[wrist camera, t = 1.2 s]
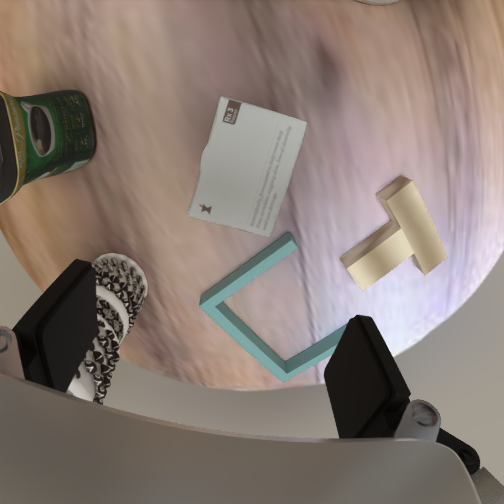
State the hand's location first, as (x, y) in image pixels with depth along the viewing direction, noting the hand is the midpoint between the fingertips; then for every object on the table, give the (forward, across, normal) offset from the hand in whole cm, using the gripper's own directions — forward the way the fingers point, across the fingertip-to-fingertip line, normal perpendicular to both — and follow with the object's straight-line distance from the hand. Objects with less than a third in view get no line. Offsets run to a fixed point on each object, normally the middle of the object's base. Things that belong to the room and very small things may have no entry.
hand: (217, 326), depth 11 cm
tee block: (+25, -20, +3) cm, 32 cm away
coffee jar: (+25, +21, -2) cm, 33 cm away
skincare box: (+26, 0, -3) cm, 26 cm away
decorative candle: (+25, +12, +16) cm, 32 cm away
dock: (+25, -10, +15) cm, 31 cm away
